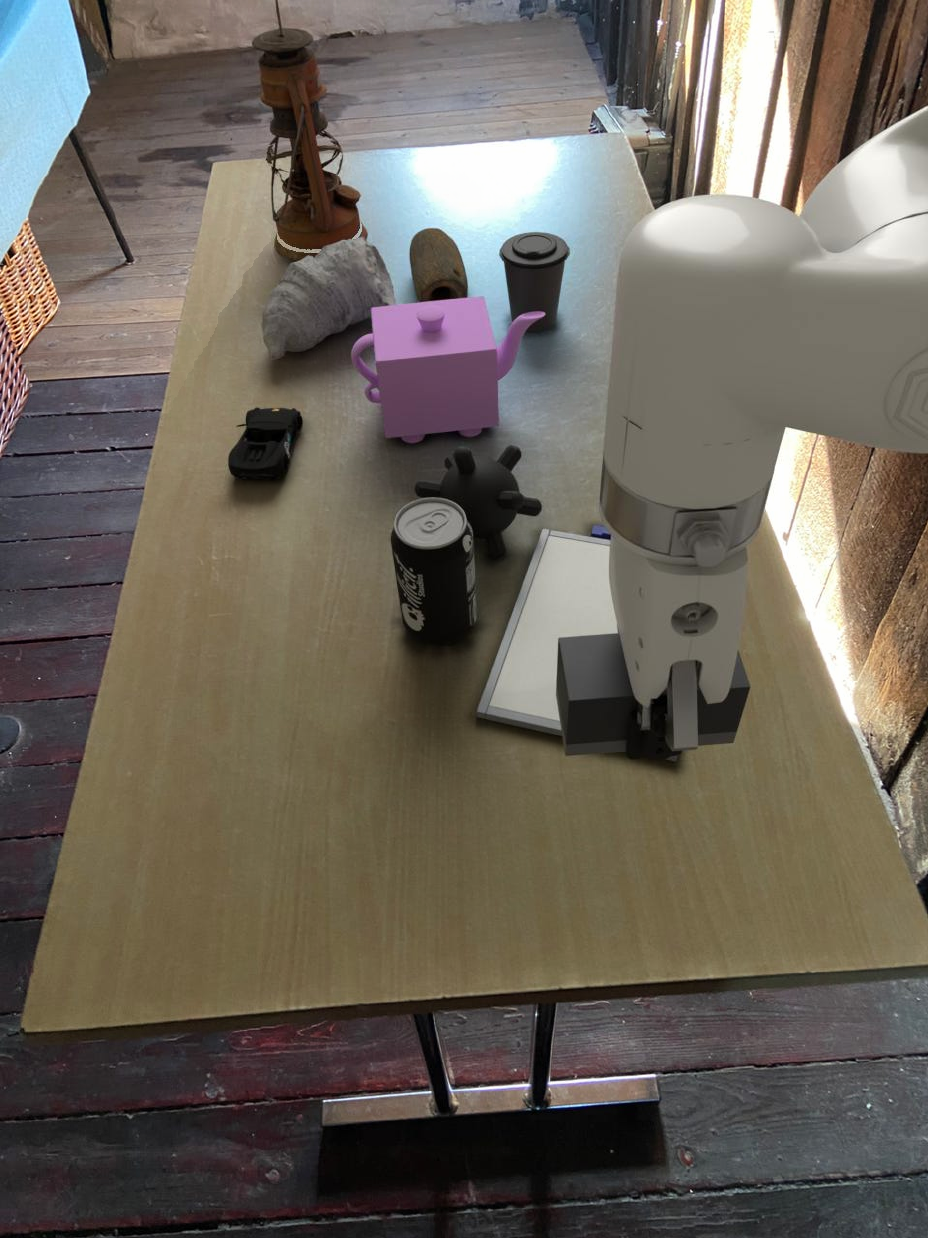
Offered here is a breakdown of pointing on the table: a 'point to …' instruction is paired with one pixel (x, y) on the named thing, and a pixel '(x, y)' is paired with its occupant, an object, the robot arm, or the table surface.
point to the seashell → (325, 296)
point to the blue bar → (598, 532)
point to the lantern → (303, 147)
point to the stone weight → (437, 267)
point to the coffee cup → (534, 275)
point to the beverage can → (435, 570)
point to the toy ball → (483, 493)
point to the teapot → (438, 366)
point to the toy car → (265, 443)
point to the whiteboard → (548, 628)
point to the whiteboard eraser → (624, 698)
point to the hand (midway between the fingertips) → (644, 714)
